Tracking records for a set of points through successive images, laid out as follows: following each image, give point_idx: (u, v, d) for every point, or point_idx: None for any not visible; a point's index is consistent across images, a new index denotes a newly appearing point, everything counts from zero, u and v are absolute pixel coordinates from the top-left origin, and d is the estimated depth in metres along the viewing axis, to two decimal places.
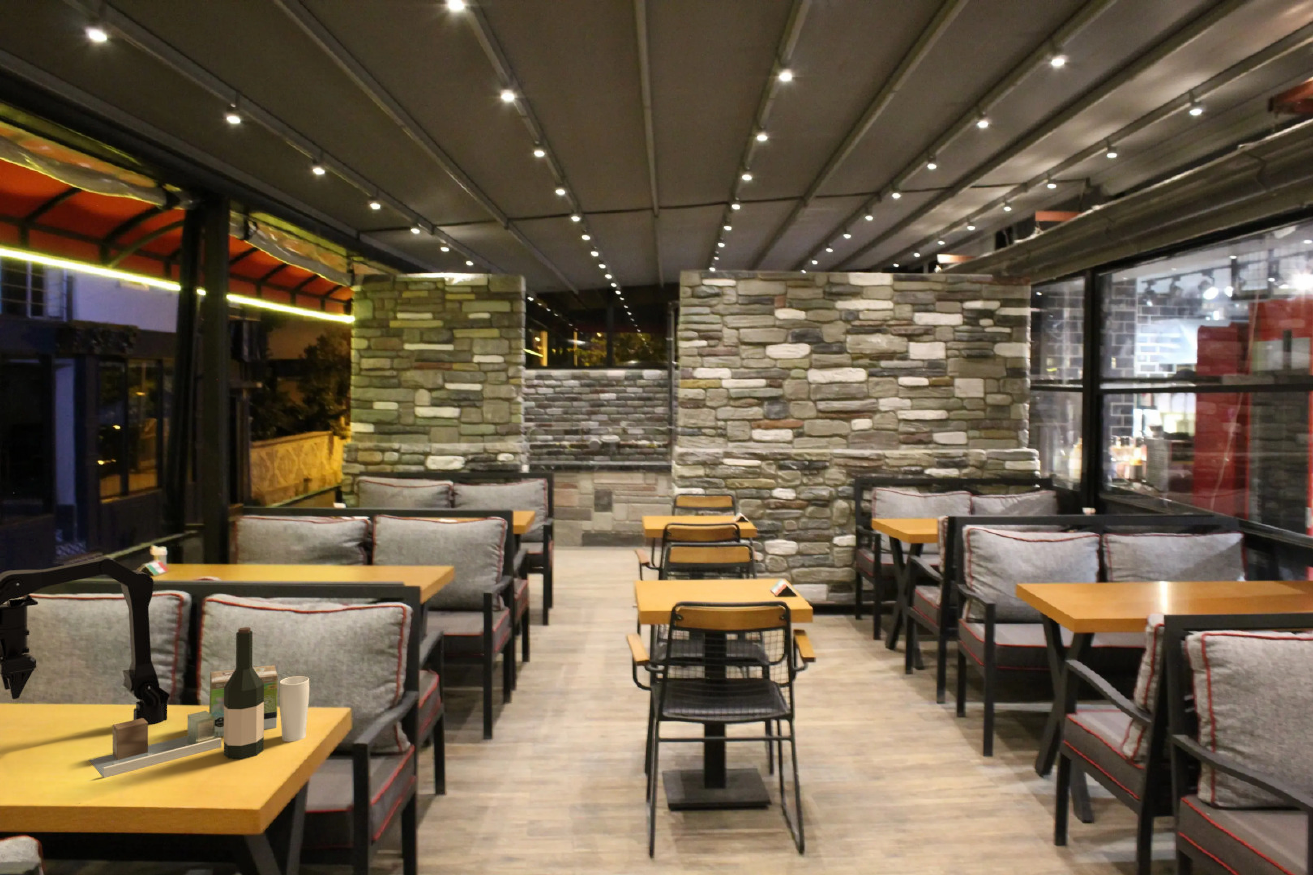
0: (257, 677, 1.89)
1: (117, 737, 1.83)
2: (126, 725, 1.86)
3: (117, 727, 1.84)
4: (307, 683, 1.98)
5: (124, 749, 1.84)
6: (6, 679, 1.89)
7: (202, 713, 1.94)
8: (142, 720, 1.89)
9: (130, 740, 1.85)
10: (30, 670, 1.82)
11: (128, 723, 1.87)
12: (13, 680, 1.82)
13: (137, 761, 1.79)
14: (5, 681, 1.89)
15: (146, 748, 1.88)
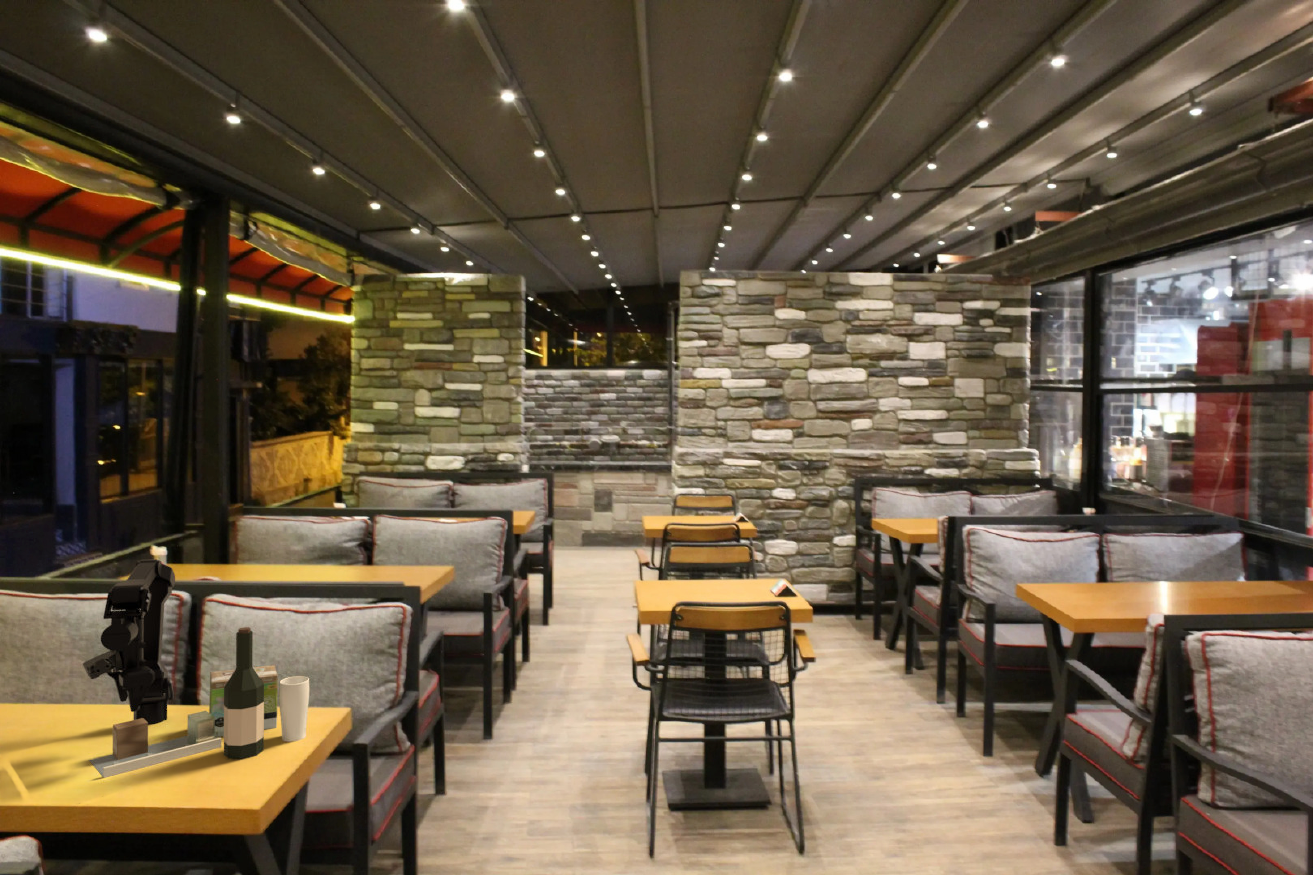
0: (257, 677, 1.89)
1: (117, 737, 1.83)
2: (126, 725, 1.86)
3: (117, 727, 1.84)
4: (307, 683, 1.98)
5: (124, 749, 1.84)
6: (121, 691, 1.90)
7: (202, 713, 1.94)
8: (142, 720, 1.89)
9: (130, 740, 1.85)
10: (149, 683, 1.83)
11: (128, 723, 1.87)
12: (132, 693, 1.82)
13: (137, 761, 1.79)
14: (120, 693, 1.89)
15: (146, 748, 1.88)
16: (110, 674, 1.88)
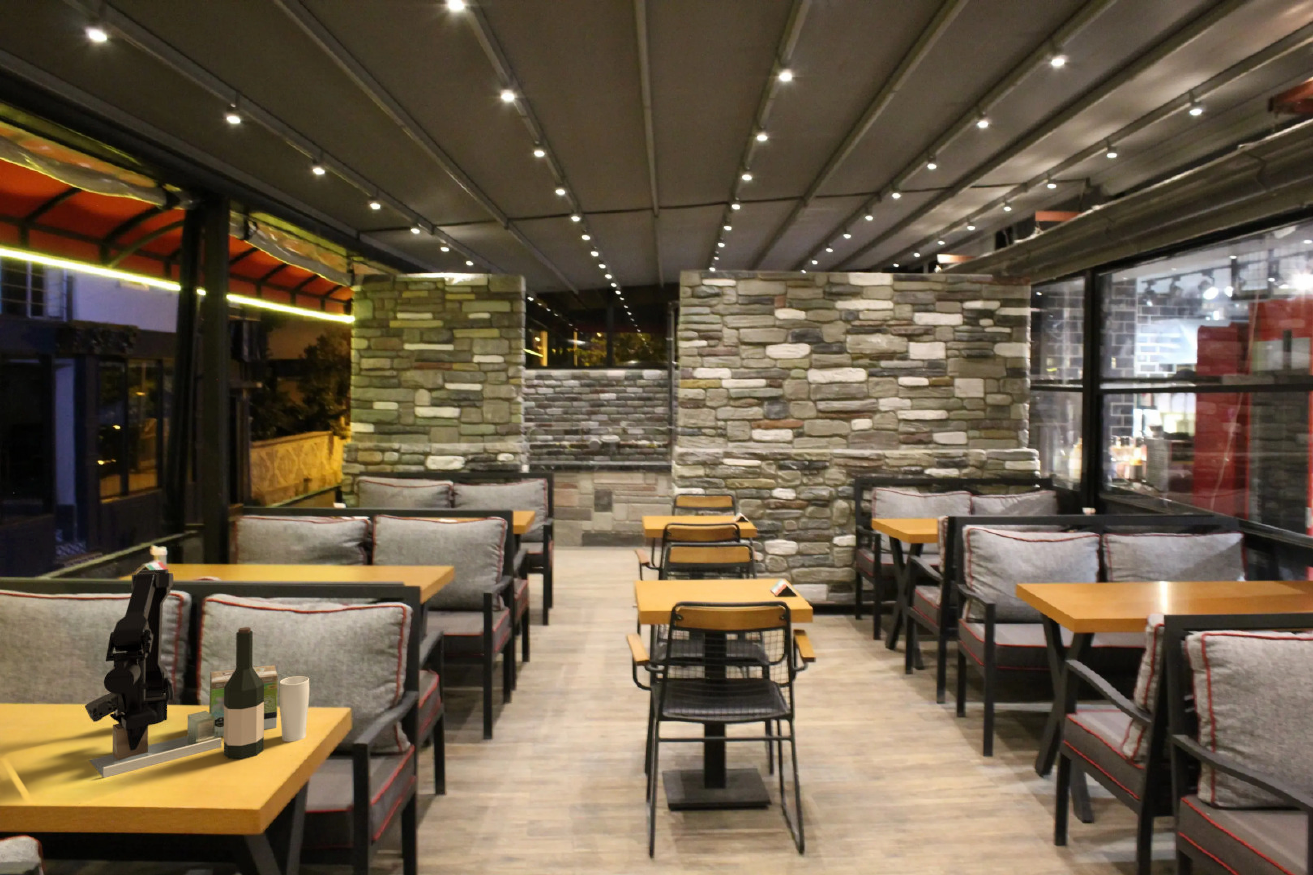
0: (257, 677, 1.89)
1: (117, 737, 1.83)
2: None
3: (117, 727, 1.84)
4: (307, 683, 1.98)
5: (124, 749, 1.84)
6: None
7: (202, 713, 1.94)
8: None
9: None
10: None
11: None
12: (132, 732, 1.84)
13: (137, 761, 1.79)
14: None
15: (146, 748, 1.88)
16: (115, 717, 1.87)
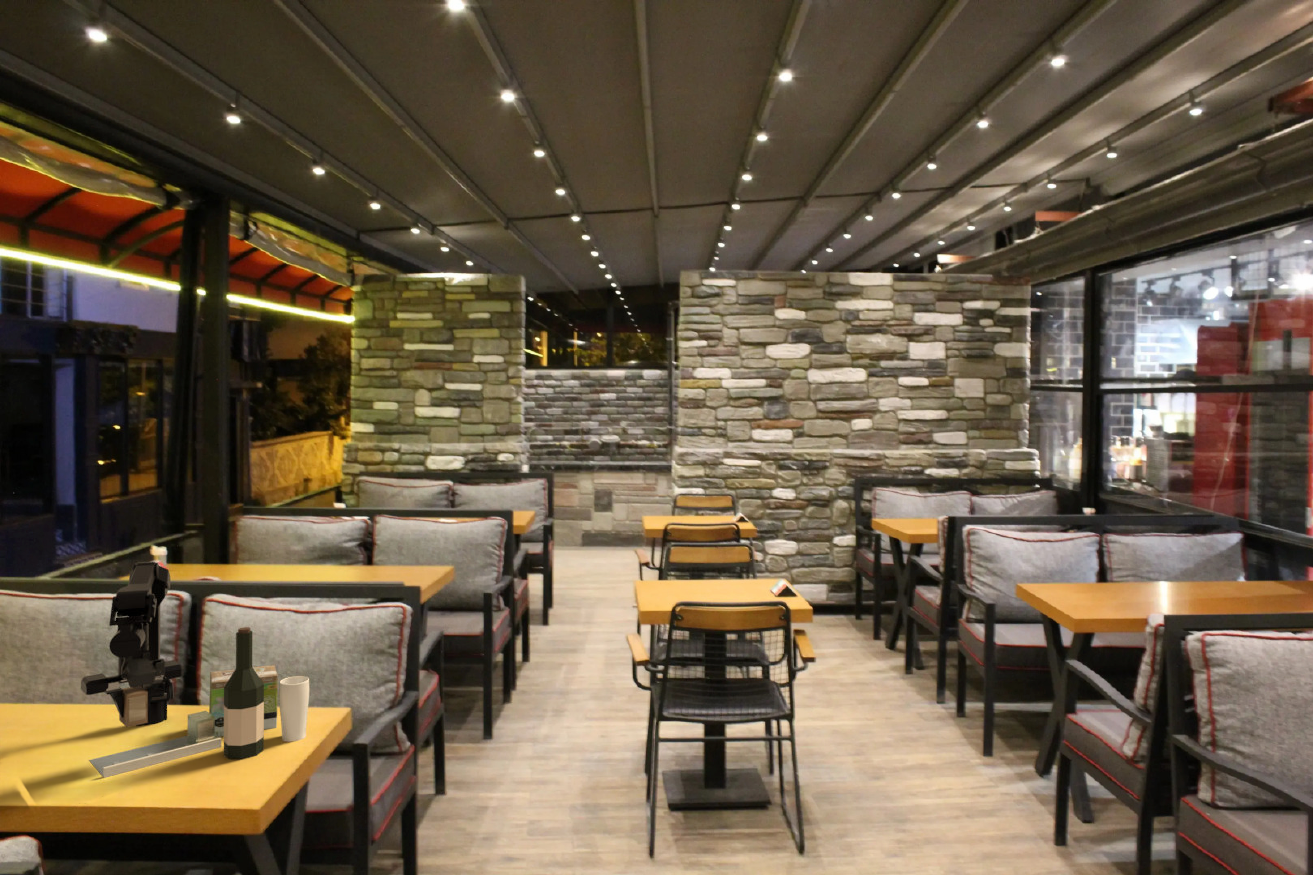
0: (257, 677, 1.89)
1: (146, 700, 1.81)
2: (138, 690, 1.82)
3: (140, 692, 1.80)
4: (307, 683, 1.98)
5: None
6: None
7: (202, 713, 1.94)
8: (129, 687, 1.83)
9: None
10: None
11: (132, 691, 1.81)
12: None
13: (137, 761, 1.79)
14: None
15: None
16: (122, 690, 1.78)
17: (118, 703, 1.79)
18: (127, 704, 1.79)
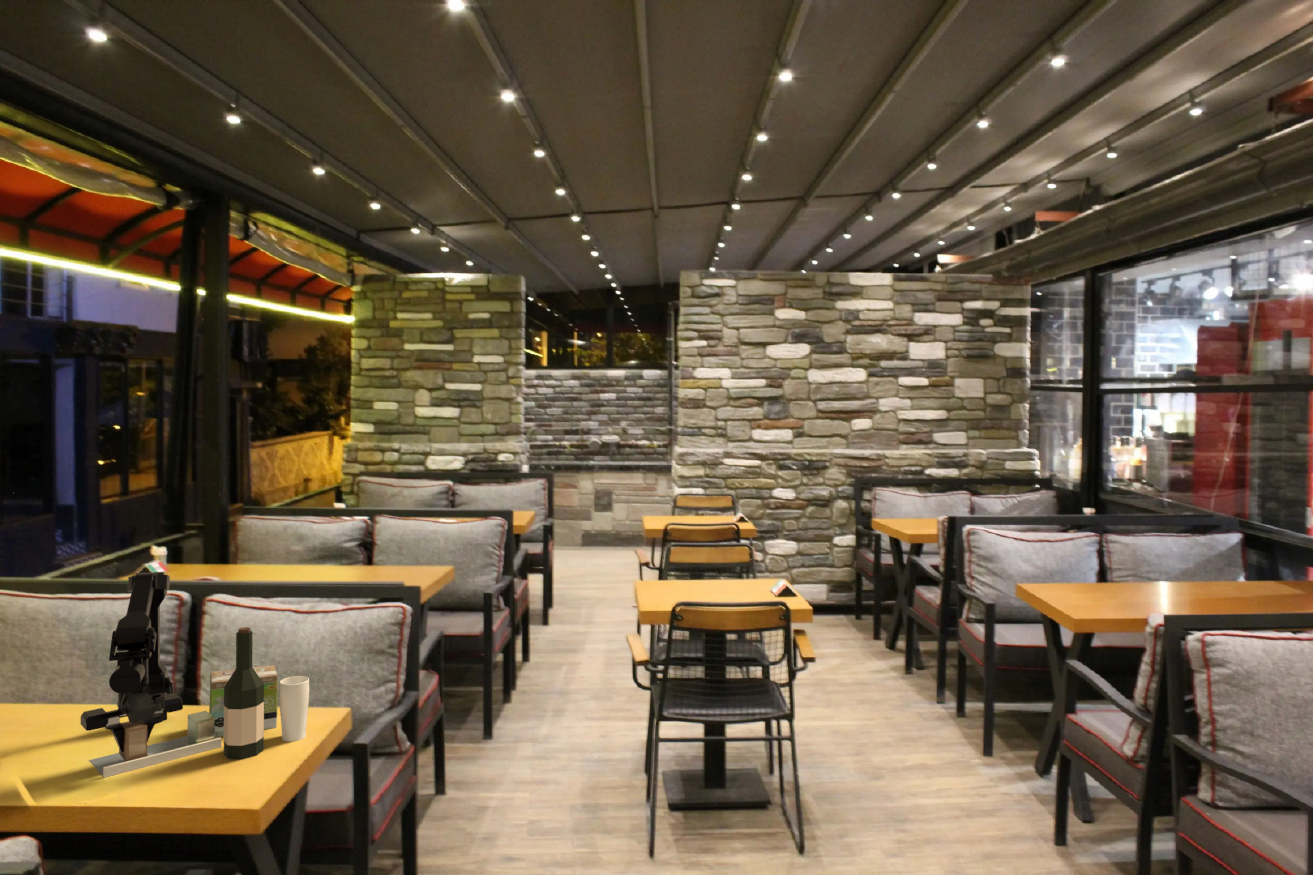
0: (257, 677, 1.89)
1: (146, 734, 1.81)
2: (137, 724, 1.82)
3: (139, 727, 1.81)
4: (307, 683, 1.98)
5: None
6: None
7: (202, 713, 1.94)
8: (128, 721, 1.84)
9: None
10: None
11: (132, 725, 1.82)
12: None
13: (137, 761, 1.79)
14: None
15: None
16: (121, 725, 1.78)
17: (118, 738, 1.79)
18: (127, 739, 1.79)
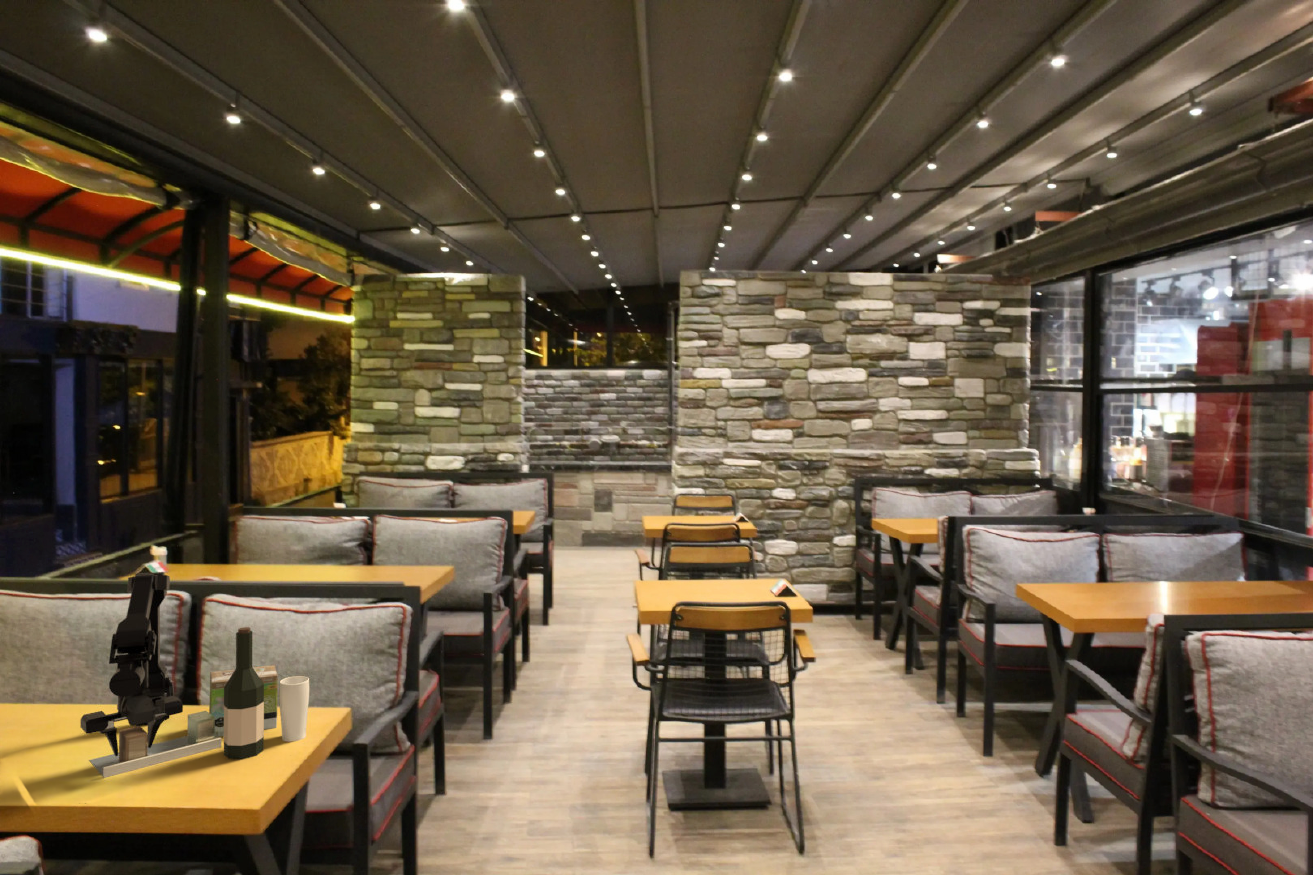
0: (257, 677, 1.89)
1: (146, 741, 1.81)
2: (137, 732, 1.82)
3: (139, 734, 1.81)
4: (307, 683, 1.98)
5: None
6: None
7: (202, 713, 1.94)
8: (128, 728, 1.84)
9: None
10: None
11: (132, 732, 1.82)
12: None
13: (137, 761, 1.79)
14: None
15: None
16: (116, 729, 1.78)
17: (112, 742, 1.78)
18: (127, 746, 1.79)
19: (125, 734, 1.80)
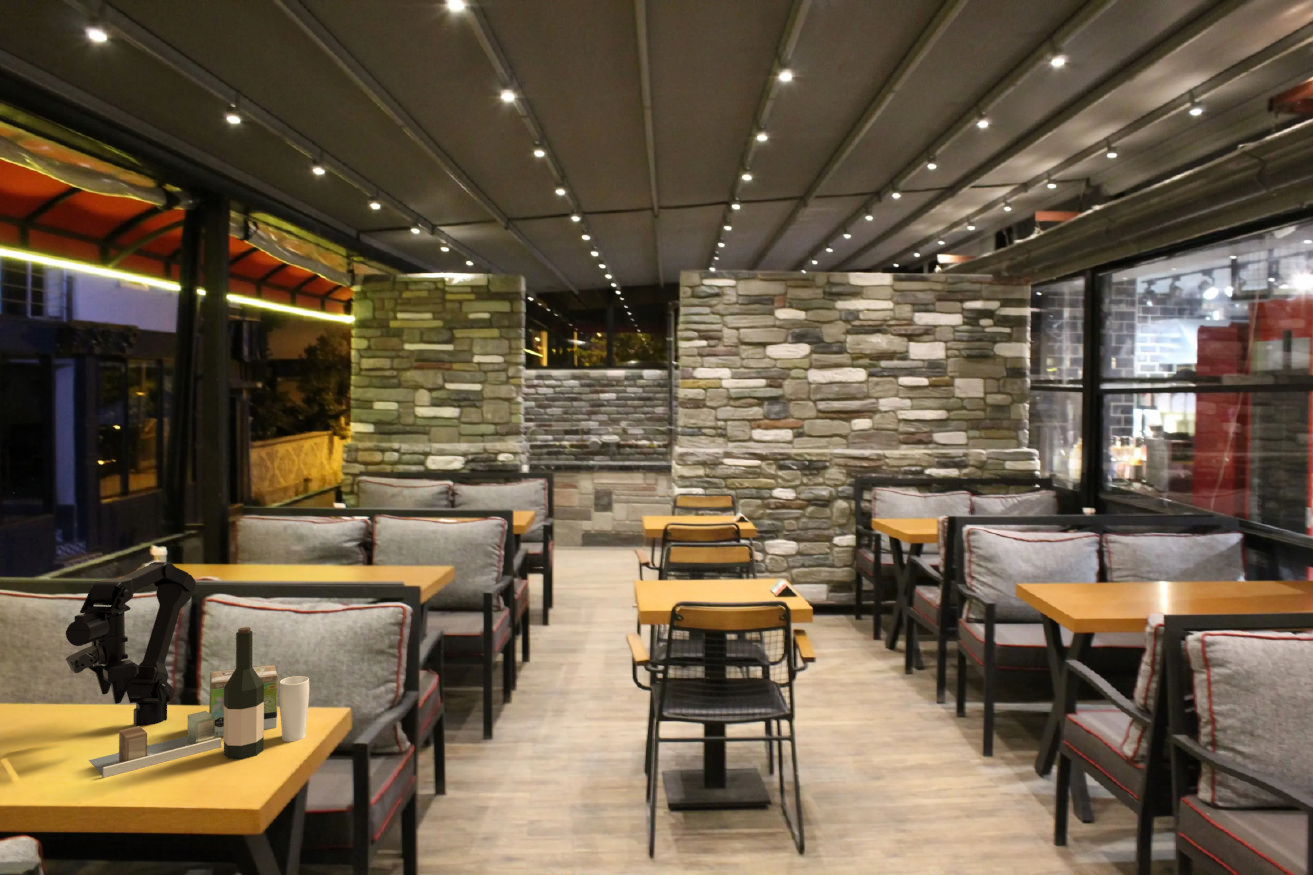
0: (257, 677, 1.89)
1: (146, 741, 1.81)
2: (137, 732, 1.82)
3: (139, 734, 1.81)
4: (307, 683, 1.98)
5: None
6: (103, 684, 1.95)
7: (202, 713, 1.94)
8: (128, 728, 1.84)
9: None
10: (133, 675, 1.89)
11: (132, 732, 1.82)
12: (116, 685, 1.88)
13: (137, 761, 1.79)
14: (102, 686, 1.95)
15: None
16: (92, 668, 1.94)
17: (97, 679, 1.95)
18: (127, 746, 1.79)
19: (125, 734, 1.80)
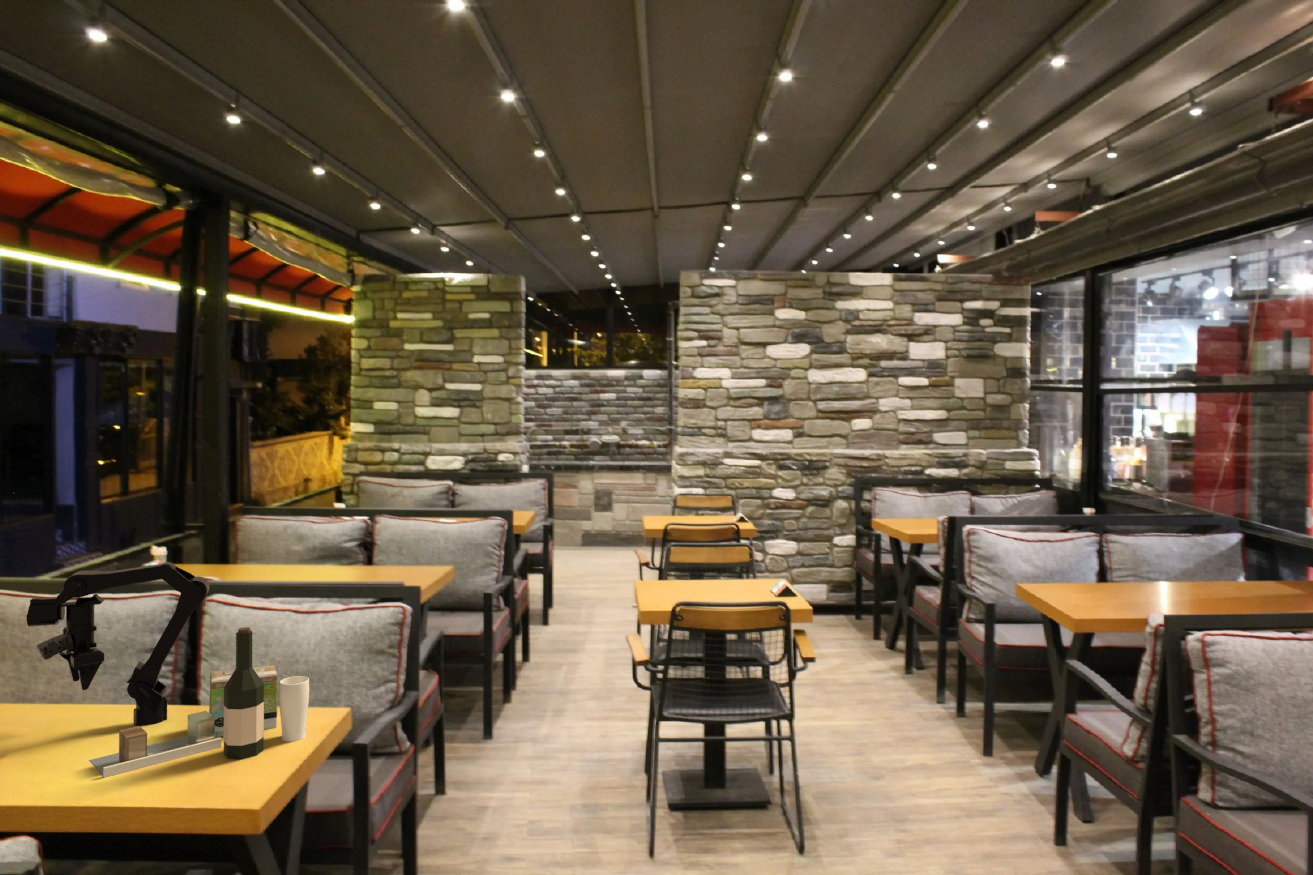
0: (257, 677, 1.89)
1: (146, 741, 1.81)
2: (137, 732, 1.82)
3: (139, 734, 1.81)
4: (307, 683, 1.98)
5: None
6: (74, 671, 2.04)
7: (202, 713, 1.94)
8: (128, 728, 1.84)
9: None
10: (99, 663, 1.97)
11: (132, 732, 1.82)
12: (83, 672, 1.96)
13: (137, 761, 1.79)
14: (73, 673, 2.03)
15: None
16: (63, 656, 2.02)
17: (69, 667, 2.04)
18: (127, 746, 1.79)
19: (125, 734, 1.80)
